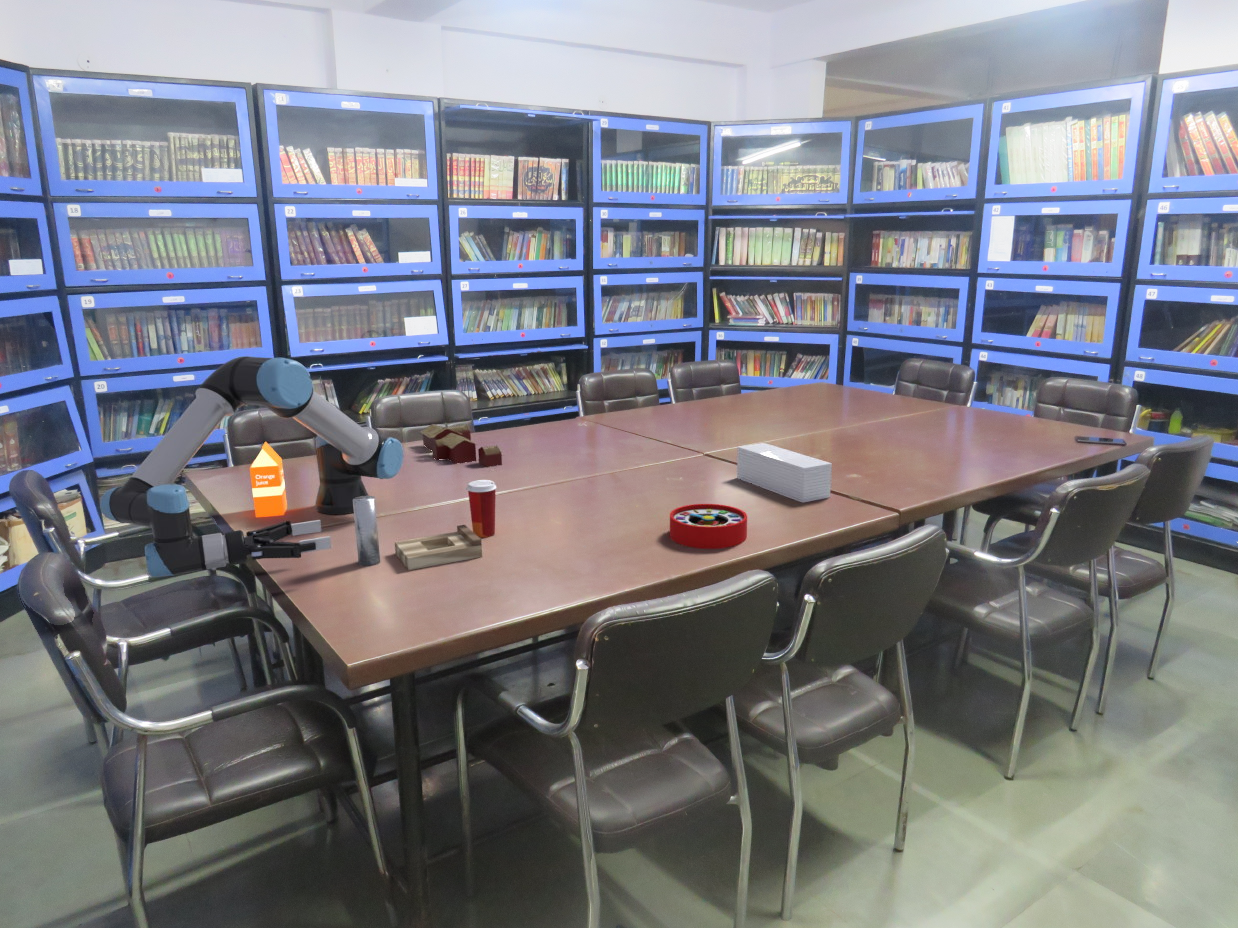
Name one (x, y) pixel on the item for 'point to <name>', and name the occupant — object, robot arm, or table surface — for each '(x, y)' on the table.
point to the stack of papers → (784, 472)
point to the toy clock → (708, 526)
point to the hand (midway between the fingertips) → (325, 533)
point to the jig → (439, 548)
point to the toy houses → (458, 446)
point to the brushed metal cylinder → (366, 530)
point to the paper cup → (482, 507)
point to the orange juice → (268, 483)
